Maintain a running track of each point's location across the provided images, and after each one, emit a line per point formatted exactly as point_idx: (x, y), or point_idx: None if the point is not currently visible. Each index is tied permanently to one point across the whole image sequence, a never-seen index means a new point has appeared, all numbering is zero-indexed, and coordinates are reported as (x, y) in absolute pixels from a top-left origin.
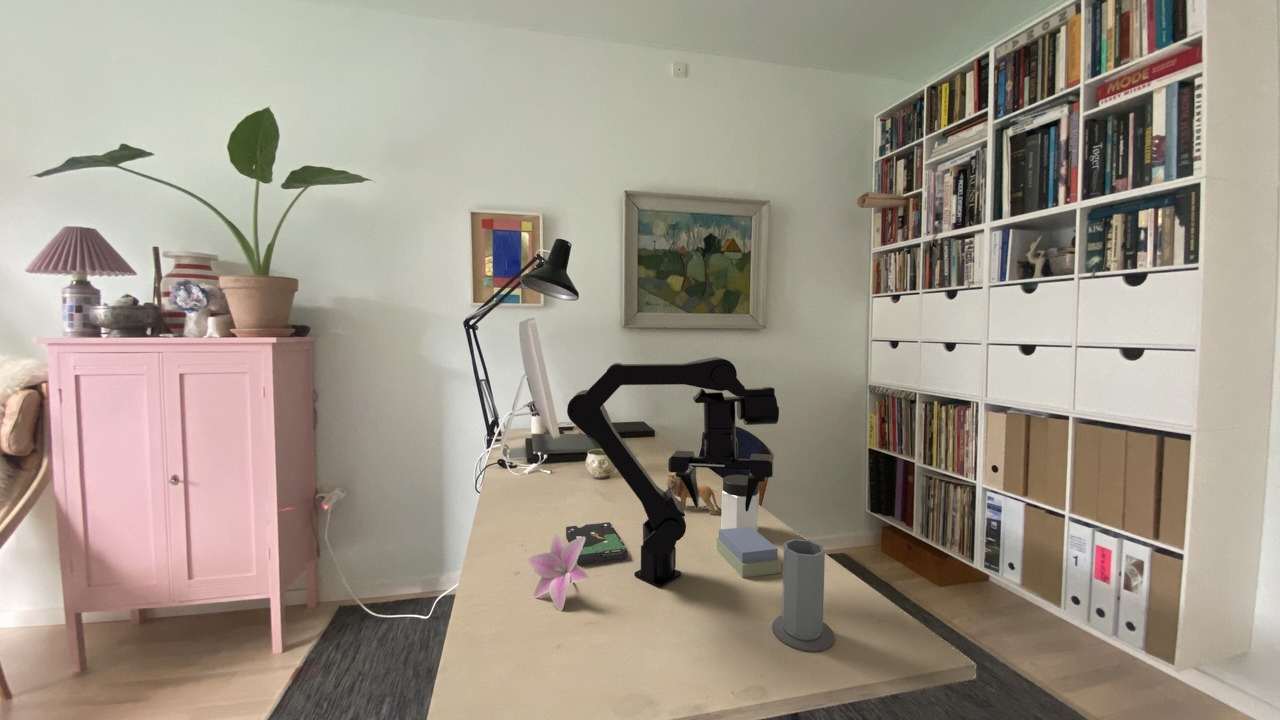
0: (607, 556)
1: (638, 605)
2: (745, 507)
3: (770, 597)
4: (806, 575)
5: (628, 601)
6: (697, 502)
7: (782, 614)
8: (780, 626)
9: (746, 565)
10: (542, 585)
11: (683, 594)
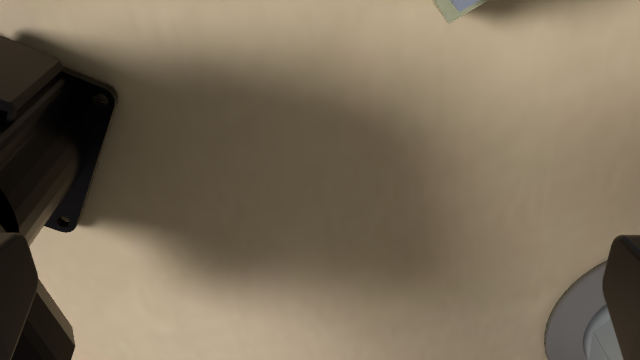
0: None
1: None
2: (618, 339)
3: (566, 147)
4: None
5: None
6: (10, 336)
7: (598, 344)
8: (575, 336)
9: (472, 8)
10: None
11: (189, 235)
